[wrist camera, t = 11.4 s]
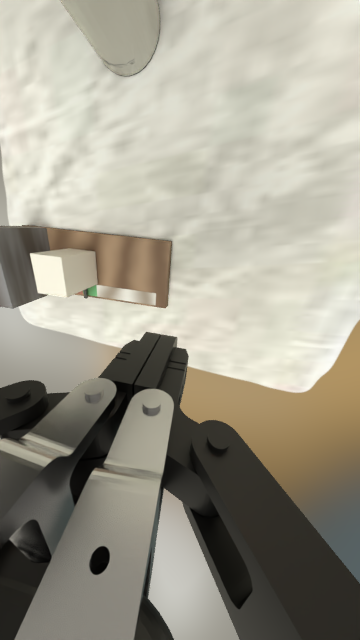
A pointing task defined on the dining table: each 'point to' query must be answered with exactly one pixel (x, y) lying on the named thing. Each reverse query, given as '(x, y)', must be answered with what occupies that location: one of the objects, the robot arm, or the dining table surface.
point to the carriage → (64, 271)
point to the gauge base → (111, 262)
